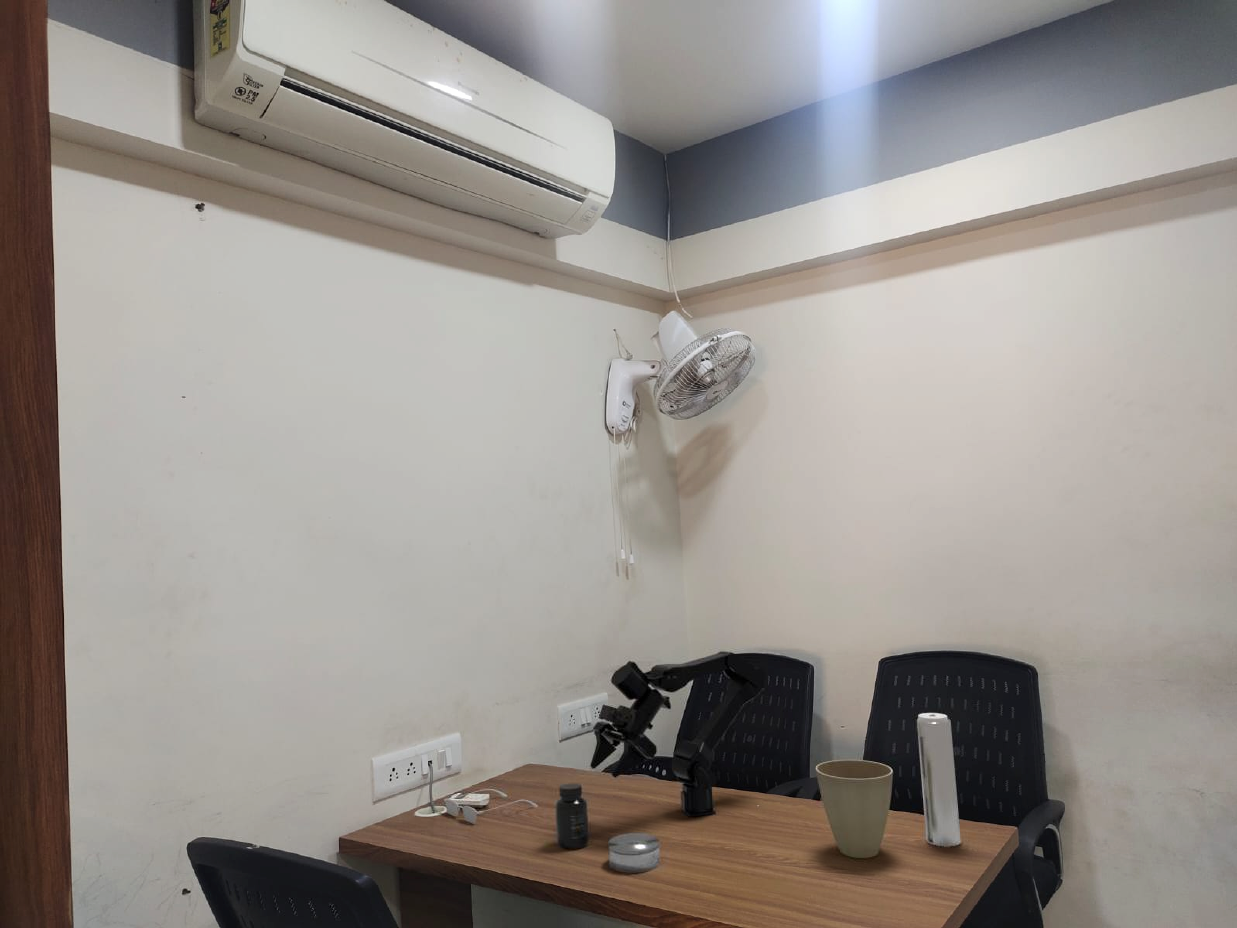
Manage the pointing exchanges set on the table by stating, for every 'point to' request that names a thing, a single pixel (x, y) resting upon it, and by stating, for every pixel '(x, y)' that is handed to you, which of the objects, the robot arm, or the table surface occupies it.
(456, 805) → the eyeglasses
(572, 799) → the supplement bottle
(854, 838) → the plant pot
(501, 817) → the table surface
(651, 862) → the grey short cylinder
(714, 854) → the table surface
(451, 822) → the table surface
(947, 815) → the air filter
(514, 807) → the table surface
